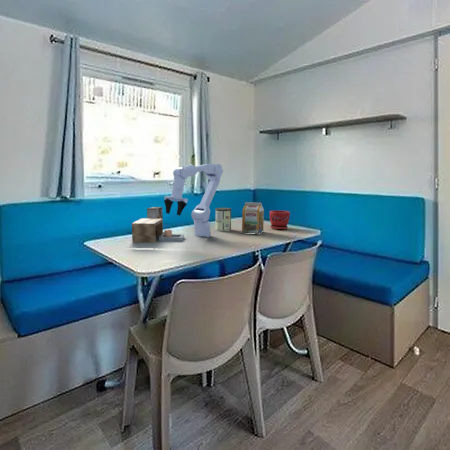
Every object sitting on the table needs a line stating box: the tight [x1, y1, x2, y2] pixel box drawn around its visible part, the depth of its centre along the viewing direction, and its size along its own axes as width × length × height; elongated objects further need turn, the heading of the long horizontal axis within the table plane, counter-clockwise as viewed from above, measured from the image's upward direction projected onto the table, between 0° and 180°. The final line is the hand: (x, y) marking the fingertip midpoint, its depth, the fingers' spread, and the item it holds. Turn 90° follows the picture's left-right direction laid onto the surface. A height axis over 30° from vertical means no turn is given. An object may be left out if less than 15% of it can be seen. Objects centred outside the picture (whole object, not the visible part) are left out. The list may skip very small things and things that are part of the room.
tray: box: [158, 233, 185, 242], centre depth 187 cm, size 12×9×3 cm
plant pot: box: [269, 210, 291, 230], centre depth 227 cm, size 13×13×12 cm
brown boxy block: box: [131, 217, 164, 244], centre depth 187 cm, size 12×18×11 cm, turn 177°
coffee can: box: [215, 207, 232, 232], centre depth 221 cm, size 10×10×14 cm
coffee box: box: [146, 206, 164, 220], centre depth 205 cm, size 9×6×16 cm
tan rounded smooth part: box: [163, 229, 173, 237], centre depth 186 cm, size 4×4×5 cm
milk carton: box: [241, 201, 265, 235], centre depth 211 cm, size 11×11×19 cm
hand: (172, 214), depth 182 cm, fingers open, 7 cm apart
